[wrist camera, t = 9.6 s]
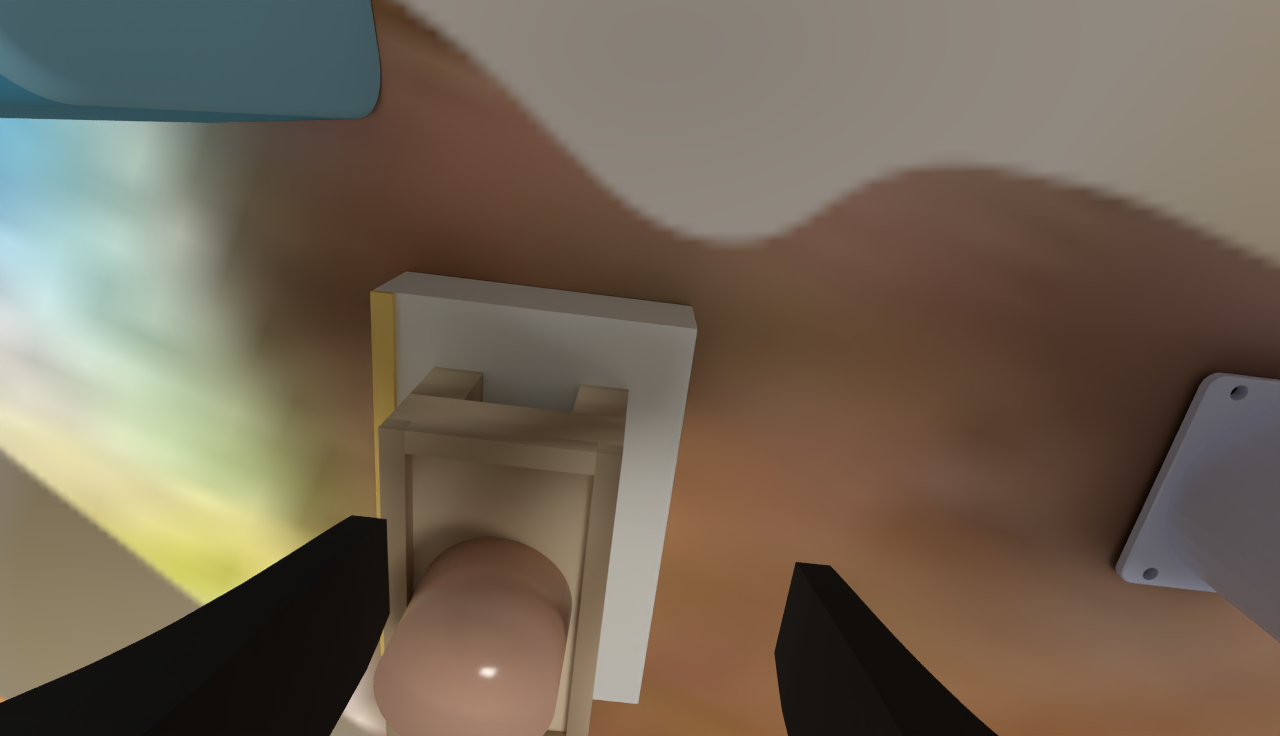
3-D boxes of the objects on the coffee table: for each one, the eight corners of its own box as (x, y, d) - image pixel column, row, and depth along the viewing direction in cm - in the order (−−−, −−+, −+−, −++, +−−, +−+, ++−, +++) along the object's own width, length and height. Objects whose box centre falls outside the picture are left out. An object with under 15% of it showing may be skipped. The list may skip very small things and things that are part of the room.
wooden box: (628, 389, 18) (622, 455, 15) (595, 656, 22) (584, 765, 18) (434, 366, 18) (378, 427, 14) (432, 638, 22) (387, 744, 18)
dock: (691, 306, 20) (698, 331, 17) (639, 649, 25) (637, 708, 22) (406, 271, 20) (370, 291, 17) (409, 625, 25) (381, 681, 22)
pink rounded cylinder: (578, 546, 16) (562, 634, 13) (566, 667, 17) (550, 770, 15) (420, 529, 16) (370, 614, 13) (421, 652, 17) (376, 752, 14)
